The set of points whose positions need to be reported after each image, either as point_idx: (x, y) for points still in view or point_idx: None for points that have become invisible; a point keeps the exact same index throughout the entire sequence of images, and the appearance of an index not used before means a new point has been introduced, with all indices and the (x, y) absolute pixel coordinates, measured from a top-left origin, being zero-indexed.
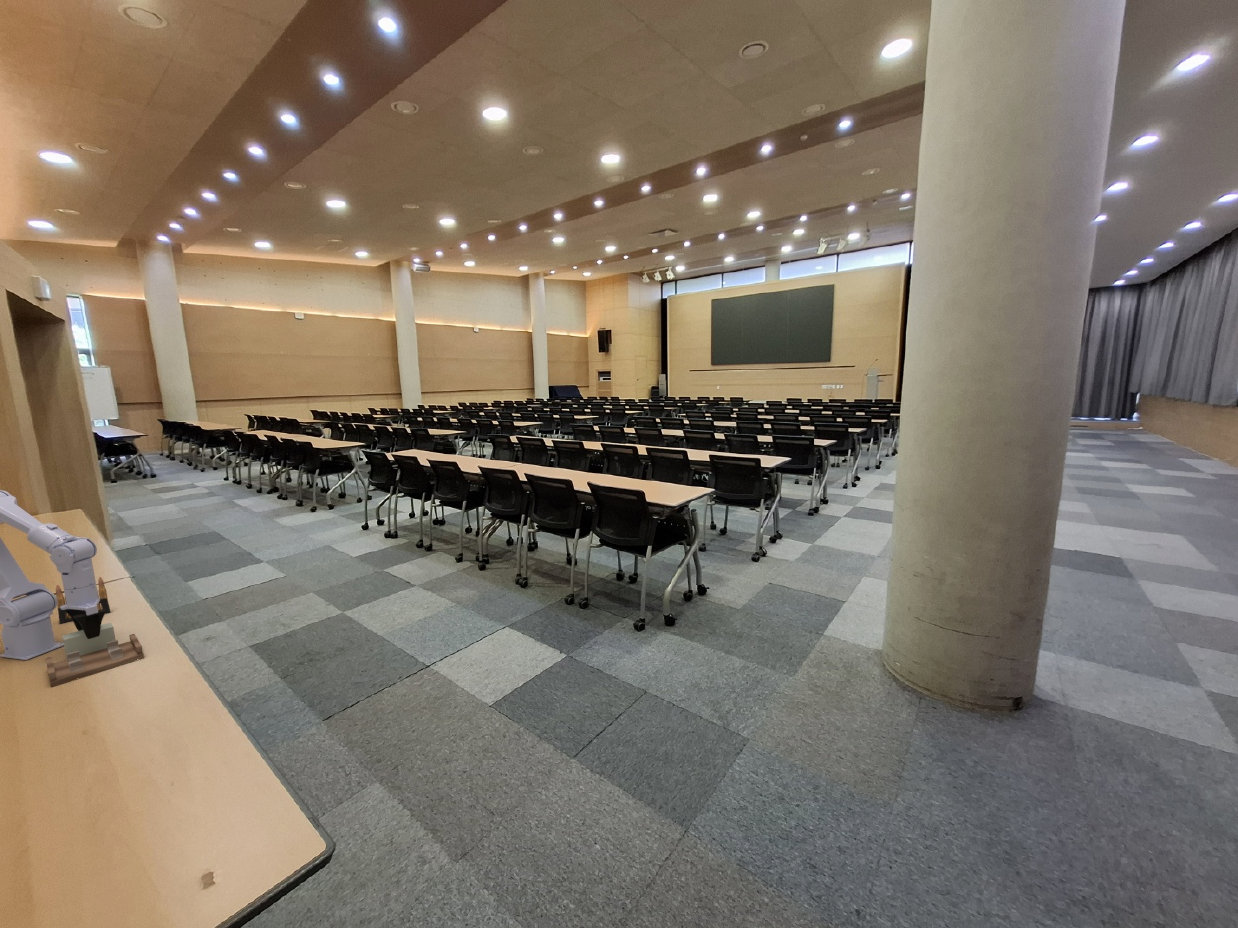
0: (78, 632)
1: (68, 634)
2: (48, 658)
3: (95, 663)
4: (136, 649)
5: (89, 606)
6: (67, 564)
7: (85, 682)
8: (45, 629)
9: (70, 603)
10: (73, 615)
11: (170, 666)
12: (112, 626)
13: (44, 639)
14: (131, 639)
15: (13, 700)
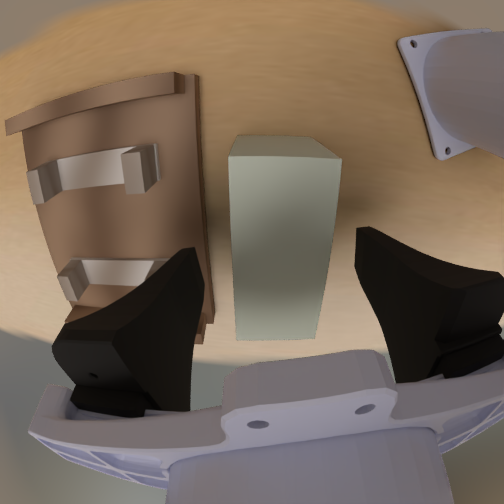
0: (305, 229)
1: (324, 186)
2: (163, 83)
3: (74, 219)
4: (75, 315)
5: (68, 453)
6: None
7: (13, 190)
8: (496, 130)
9: (204, 492)
10: (413, 287)
11: (21, 318)
12: (243, 338)
13: (460, 110)
14: None
15: (24, 45)
